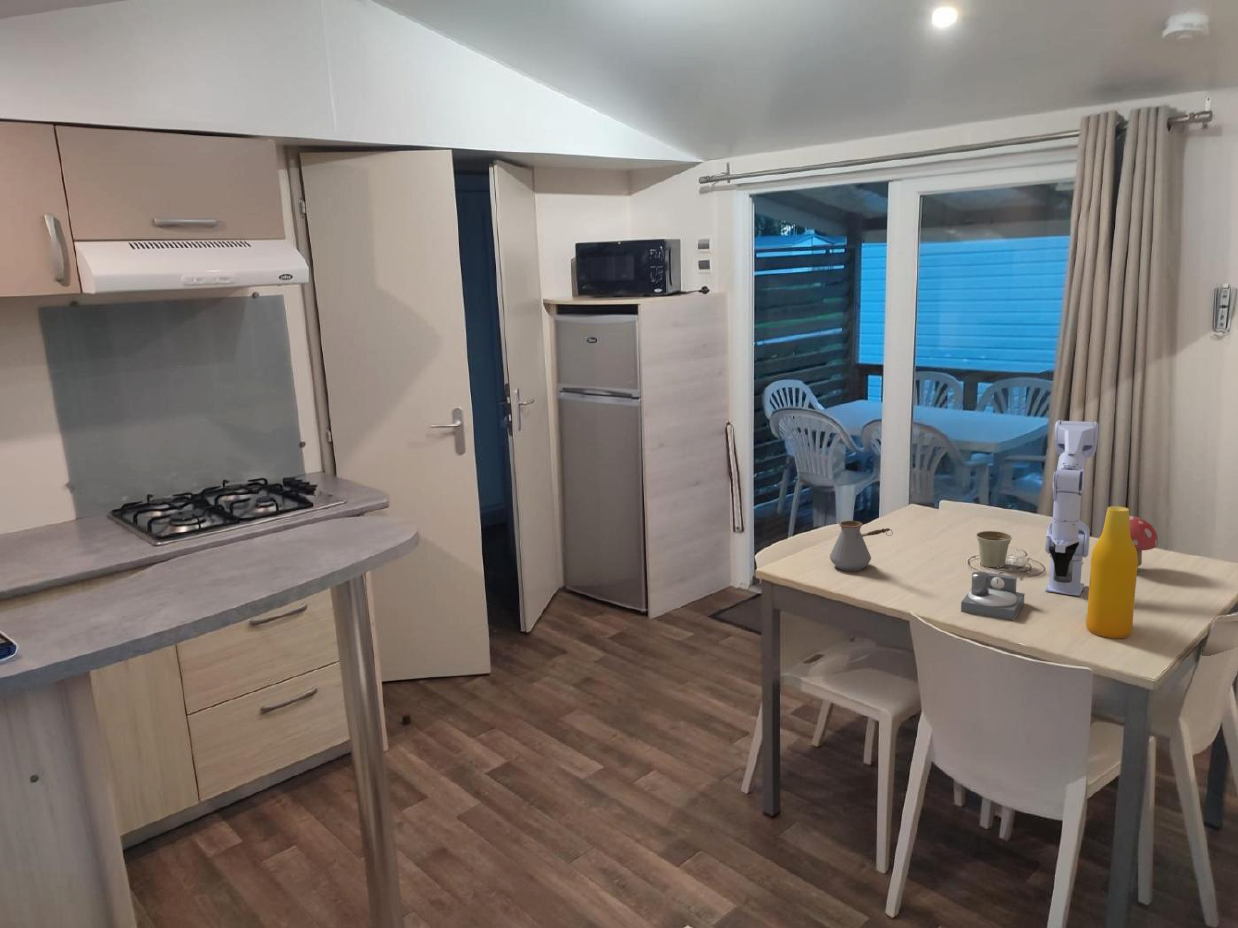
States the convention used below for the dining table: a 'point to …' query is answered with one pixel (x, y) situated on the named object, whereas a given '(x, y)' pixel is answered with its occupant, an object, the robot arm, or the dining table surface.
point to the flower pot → (993, 547)
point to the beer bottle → (1113, 578)
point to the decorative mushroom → (1142, 536)
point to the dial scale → (996, 599)
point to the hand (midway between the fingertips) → (1062, 573)
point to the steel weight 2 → (1068, 576)
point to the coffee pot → (852, 547)
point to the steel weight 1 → (980, 584)
